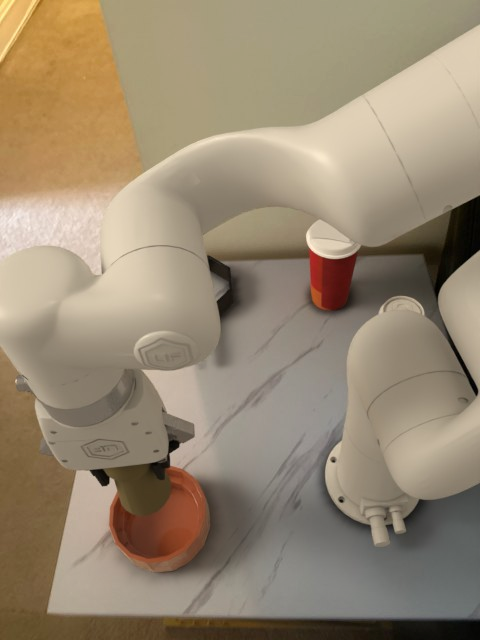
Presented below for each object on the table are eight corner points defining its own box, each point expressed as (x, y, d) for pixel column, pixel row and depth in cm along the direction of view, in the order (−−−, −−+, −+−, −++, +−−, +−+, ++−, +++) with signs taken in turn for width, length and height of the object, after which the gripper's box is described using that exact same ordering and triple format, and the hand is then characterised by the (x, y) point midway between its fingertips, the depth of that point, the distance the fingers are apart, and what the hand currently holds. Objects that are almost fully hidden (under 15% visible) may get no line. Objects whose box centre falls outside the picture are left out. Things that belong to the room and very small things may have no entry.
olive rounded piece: (145, 454, 67) (123, 409, 58) (182, 484, 64) (165, 442, 55) (107, 493, 64) (79, 453, 55) (145, 527, 61) (120, 490, 53)
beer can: (406, 356, 86) (425, 294, 75) (409, 391, 83) (429, 331, 71) (366, 355, 87) (378, 292, 75) (368, 389, 84) (380, 329, 72)
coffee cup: (362, 289, 95) (372, 223, 83) (340, 323, 91) (348, 259, 79) (317, 272, 98) (321, 206, 87) (295, 304, 94) (295, 239, 83)
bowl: (212, 567, 70) (208, 556, 66) (116, 578, 70) (106, 567, 66) (207, 475, 77) (203, 460, 73) (121, 484, 77) (112, 470, 73)
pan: (240, 365, 88) (239, 353, 85) (164, 374, 88) (160, 362, 85) (230, 266, 101) (228, 252, 98) (164, 273, 101) (160, 260, 98)
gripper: (-31, 433, 43) (49, 513, 57) (192, 409, 43) (216, 495, 57) (-12, 352, 47) (58, 445, 62) (189, 330, 47) (212, 428, 62)
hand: (134, 469), depth 59 cm, fingers closed on olive rounded piece, 5 cm apart
